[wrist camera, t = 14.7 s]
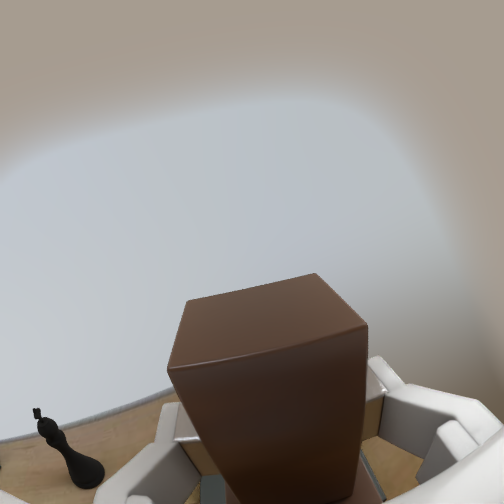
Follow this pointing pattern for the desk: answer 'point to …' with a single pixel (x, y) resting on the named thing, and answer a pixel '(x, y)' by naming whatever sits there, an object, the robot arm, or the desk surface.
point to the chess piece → (70, 454)
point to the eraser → (278, 391)
